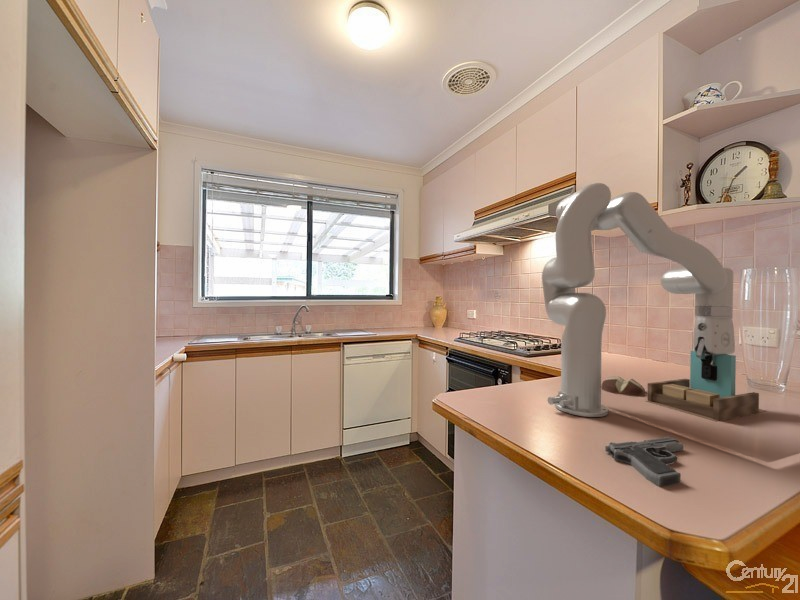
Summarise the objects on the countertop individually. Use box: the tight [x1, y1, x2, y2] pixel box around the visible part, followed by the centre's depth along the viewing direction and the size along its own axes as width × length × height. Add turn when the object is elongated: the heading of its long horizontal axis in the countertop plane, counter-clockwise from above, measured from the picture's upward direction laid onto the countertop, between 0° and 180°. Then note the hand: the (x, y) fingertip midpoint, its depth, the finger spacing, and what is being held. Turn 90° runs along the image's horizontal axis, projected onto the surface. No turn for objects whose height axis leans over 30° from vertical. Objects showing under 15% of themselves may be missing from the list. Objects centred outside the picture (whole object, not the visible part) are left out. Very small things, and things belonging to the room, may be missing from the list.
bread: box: [601, 376, 646, 397], centre depth 102 cm, size 11×11×5 cm
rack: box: [645, 378, 767, 423], centre depth 88 cm, size 22×16×6 cm
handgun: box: [604, 436, 684, 488], centre depth 59 cm, size 2×17×12 cm
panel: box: [689, 350, 737, 398], centre depth 89 cm, size 2×9×13 cm, turn 20°
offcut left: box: [663, 384, 693, 400], centre depth 88 cm, size 4×5×5 cm
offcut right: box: [686, 389, 720, 407], centre depth 83 cm, size 4×5×5 cm
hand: (711, 378), depth 89 cm, fingers closed on panel, 1 cm apart
